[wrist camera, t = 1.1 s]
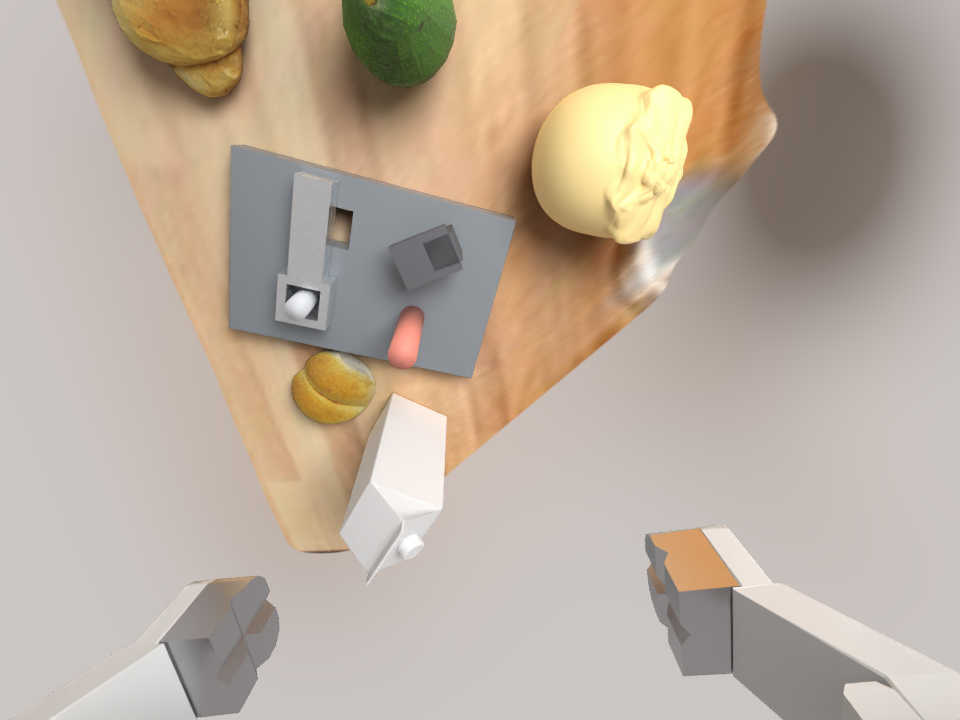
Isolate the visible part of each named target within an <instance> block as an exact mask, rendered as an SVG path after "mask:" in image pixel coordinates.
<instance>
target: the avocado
mask: <svg viewBox="0 0 960 720" xmlns="http://www.w3.org/2000/svg"><path fill="white" fill-rule="evenodd" d="M342 11H343V26H344V29H345V31H346V34H347V37H348V39H349V42H350V44H351V47H352V49H353V51H354V52H355V54H356V56H357V57H358V59H359V60H360V61H361V62H362V64H363V65H364V66H365V67H366V68H367V69H368V70H369V71H370V72H371V73H372V74H373V75H374V76H375V77H377V78H379V79H381V80H382V81H384V82H386V83H387V84H390V85H393V86H400V87H411V86H414V85H418V84H421V83H424V82H426V81H428V80H429V79H431V78H432V77H433V76H434V75H435V74H436V72H437V71H438V70H439V69H440V68H441V67H442V65H443V64H444V63H445V62H446V59H447V57H448V55H449V52H450V50H451V48H452V45H453V42H454V36H455V30H456V23H457V21H456V16H455V11H454V6H453V0H342Z"/></svg>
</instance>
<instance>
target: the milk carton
mask: <svg viewBox="0 0 960 720" xmlns="http://www.w3.org/2000/svg"><path fill="white" fill-rule="evenodd" d="M446 422H447V417H446V416H444V415H442V414H440V413H437V412H435V411H433V410H431V409H428V408H426V407H424V406H421V405H419V404H417V403H415V402H412V401H410V400H408V399H406V398H403V397H401V396H399V395H396V394H394V393H393V394H392V395H391V397H390V398H389V400H388V402H387V404H386V406H385V407H384V409H383V411H382V413H381V415H380V416H379V418H378V420H377V422H376V424H375V425H374V427H373V429H372V431H371V433H370V435H369V437H368V440H367V444H366V447H365V450H364V454H363V457H362V460H361V464H360V467H359V470H358V474H357V477H356V480H355V484H354V487H353V490H352V494H351V497H350V500H349V504H348V507H347V510H346V514H345V517H344V520H343V524H342V527H341V530H340V534H339V535H340V536H341V537H342V539H343V540H344V542H345V543H346V544H347V546H348V547H349V548H350V550H351V551H352V553H353V554H354V555H355V556H356V558H357V559H358V561H359V562H360V563H361V565H362V566H363V568H364V569H365V570H366V572H367V573H368V576H367V582H366V585H369V583H370V582H371V580H372V579H373V577H374V576H375V574H376V573H377V571H379V570H381V569H384V568H386V567H389V566H391V565H393V564H396V563H398V562H400V561H403V560H408V559H410V558H412V557H414V556H415V555H417V554H418V553H419V552H420V551H421V550H422V549H423V547H424V543H423V541H422V538H423V536H424V535H425V534H426V532H427V531H428V530H429V528H430V527H431V525H432V524H433V523H434V521H435V520H436V518H437V517H438V515H439V514H440V512H441V511H442V508H443V492H444V469H445V445H446Z"/></svg>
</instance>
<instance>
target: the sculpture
mask: <svg viewBox="0 0 960 720" xmlns="http://www.w3.org/2000/svg"><path fill="white" fill-rule="evenodd" d="M692 114H693V110H692V104H691V102H690V101H689V99H687V98H684V97H682V96H681V94H680V93H679V92H678V91H676V90H675V89H674V88H672V87H670V86H667V85H658V86H655V87H654V88H652V89H651V88H648V87H645V86H640V85H632V84H618V83H602V84H595V85H591V86H587V87H584V88H581V89H579V90H577V91H575V92H573V93H571V94H569V95H568V96H566V97H565V98H564V99H563V100H561V101H560V102H559V103H558V104H557V105H556V106H555V107H554V108H553V110H552V111H551V112H550V114H549V115H548V116H547V118H546V120H545V121H544V123H543V125H542V127H541V129H540V131H539V134H538V137H537V140H536V143H535V147H534V151H533V157H532V181H533V187H534V191H535V194H536V197H537V199H538V202H539V203H540V205H541V207H542V208H543V210H544V211H545V212H546V214H547V215H548V216H549V217H550V218H551V219H553V220H554V221H555V222H557V223H558V224H560V225H561V226H563V227H565V228H567V229H570V230H572V231H575V232H579V233H583V234H588V235H592V236H597V237H604V238H613V239H614V241H615V242H617V243H619V244H630V243H635V242H638V241H640V240H641V239H643V240H646V239H649V238H651V237H652V236H653V235H654V234H655V233H656V231H657V230H658V228H659V225H660V222H661V218H662V214H663V210H664V209H665V208H666V207H667V206H668V205H669V204H670V202H671V201H672V199H673V197H674V195H675V191H676V188H677V185H678V183H679V181H680V180H681V178H682V175H683V166H684V162H685V159H686V156H687V151H688V149H687V142H686V135H687V132H688V129H689V126H690V123H691V120H692Z"/></svg>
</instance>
